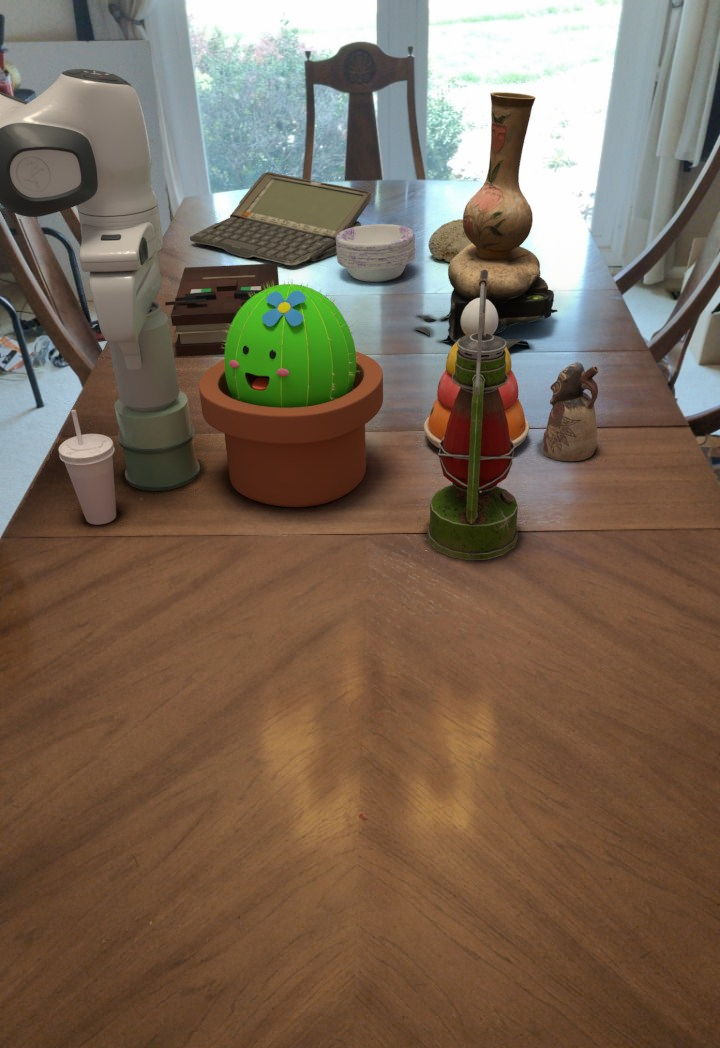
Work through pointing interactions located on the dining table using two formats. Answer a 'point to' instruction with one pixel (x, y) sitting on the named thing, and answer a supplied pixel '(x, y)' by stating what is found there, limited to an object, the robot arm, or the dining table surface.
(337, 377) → the potted cactus
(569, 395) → the figurine
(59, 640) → the dining table surface
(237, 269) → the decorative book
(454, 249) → the decorative item
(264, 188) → the laptop
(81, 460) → the smoothie
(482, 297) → the lantern
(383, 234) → the paper bowls
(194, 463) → the cup stack
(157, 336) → the can
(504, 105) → the vase
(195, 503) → the dining table surface
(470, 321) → the stacking toy
